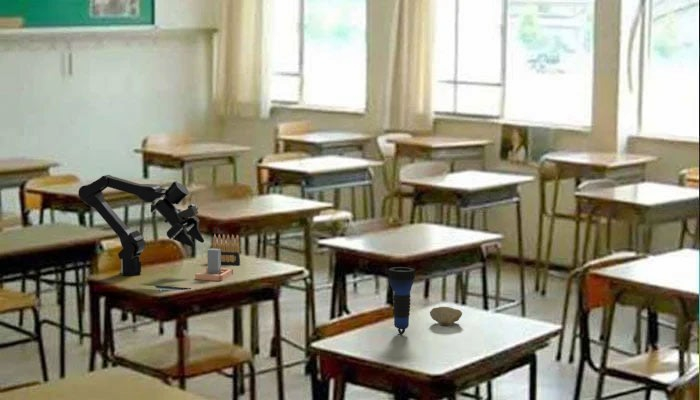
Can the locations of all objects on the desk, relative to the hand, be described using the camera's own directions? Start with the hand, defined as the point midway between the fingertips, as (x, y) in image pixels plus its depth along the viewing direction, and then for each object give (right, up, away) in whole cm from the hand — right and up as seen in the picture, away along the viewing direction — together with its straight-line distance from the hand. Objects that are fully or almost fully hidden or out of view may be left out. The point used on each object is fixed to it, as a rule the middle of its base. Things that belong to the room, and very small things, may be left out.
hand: (198, 244), depth 422 cm
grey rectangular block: (+6, -12, 0) cm, 13 cm away
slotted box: (+6, -13, 0) cm, 14 cm away
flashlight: (+70, -25, -70) cm, 102 cm away
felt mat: (-7, -15, -13) cm, 21 cm away
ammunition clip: (+7, -9, +27) cm, 30 cm away
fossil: (+85, -23, -59) cm, 106 cm away
